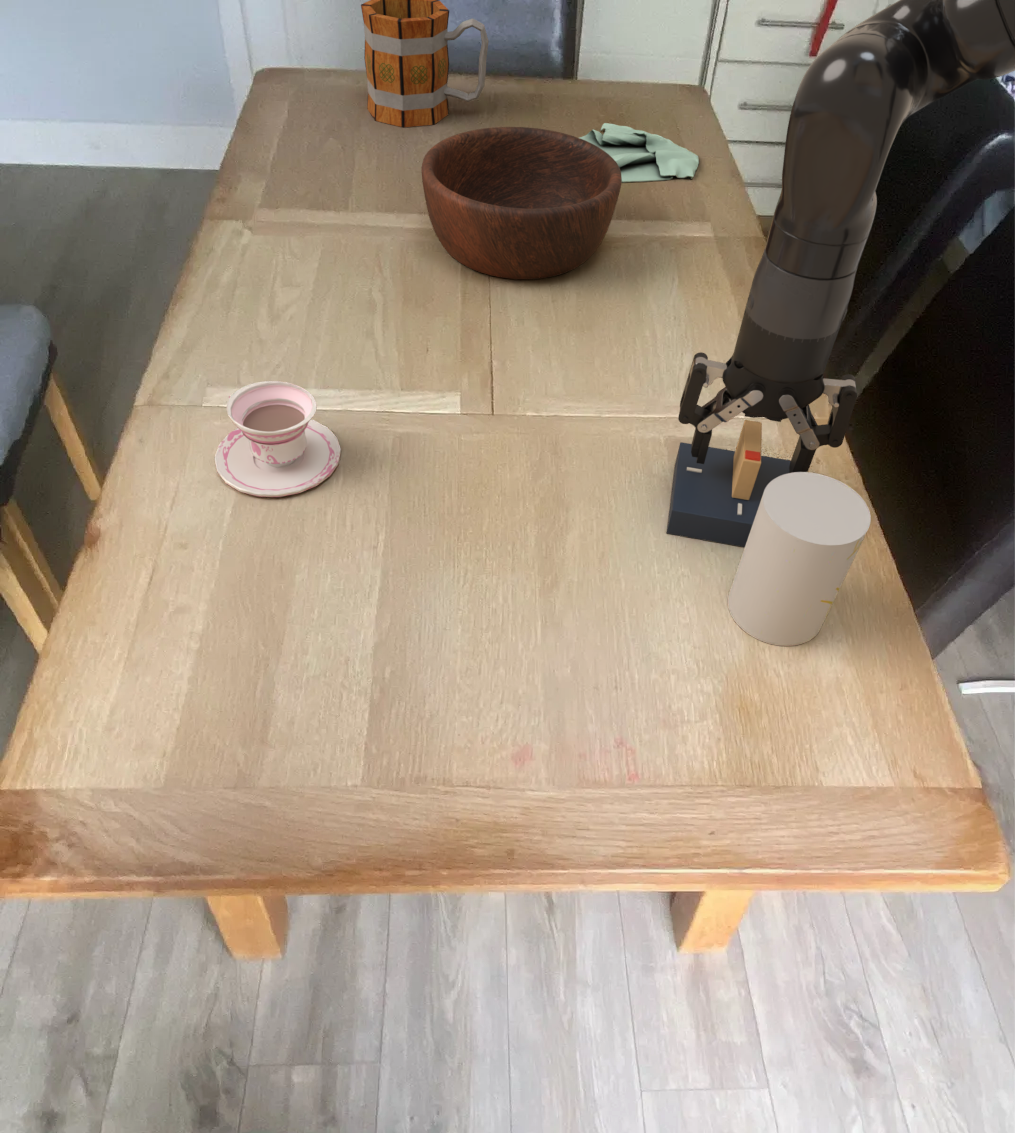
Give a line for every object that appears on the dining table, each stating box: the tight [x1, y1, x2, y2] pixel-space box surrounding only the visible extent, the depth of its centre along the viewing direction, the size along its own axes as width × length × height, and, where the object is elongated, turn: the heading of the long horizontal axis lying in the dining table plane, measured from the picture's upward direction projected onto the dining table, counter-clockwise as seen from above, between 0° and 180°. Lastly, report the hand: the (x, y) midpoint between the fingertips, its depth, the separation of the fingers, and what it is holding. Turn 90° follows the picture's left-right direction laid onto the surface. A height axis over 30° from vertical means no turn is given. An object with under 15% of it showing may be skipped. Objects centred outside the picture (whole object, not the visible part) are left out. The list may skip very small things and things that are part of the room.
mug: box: [360, 0, 490, 128], centre depth 143 cm, size 20×14×15 cm
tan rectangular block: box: [732, 419, 763, 500], centre depth 83 cm, size 6×2×5 cm, turn 168°
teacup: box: [214, 380, 342, 498], centre depth 86 cm, size 12×12×6 cm
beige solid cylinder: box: [727, 471, 872, 647], centre depth 73 cm, size 8×8×12 cm
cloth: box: [579, 122, 700, 183], centre depth 140 cm, size 20×22×2 cm
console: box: [665, 441, 791, 548], centre depth 85 cm, size 12×11×3 cm
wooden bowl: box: [421, 126, 623, 280], centre depth 116 cm, size 25×25×10 cm
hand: (746, 465), depth 84 cm, fingers open, 8 cm apart
